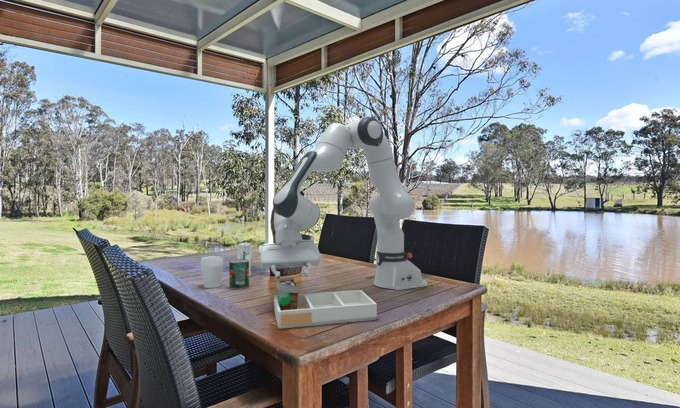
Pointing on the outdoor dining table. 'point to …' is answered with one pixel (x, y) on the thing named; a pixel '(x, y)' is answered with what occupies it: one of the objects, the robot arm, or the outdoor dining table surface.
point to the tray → (327, 309)
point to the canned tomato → (239, 273)
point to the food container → (287, 294)
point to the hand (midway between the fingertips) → (292, 276)
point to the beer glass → (245, 253)
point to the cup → (212, 271)
